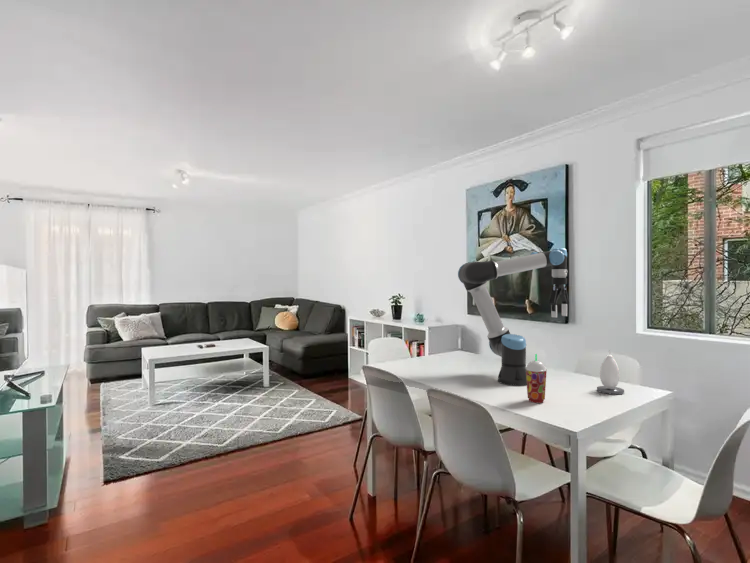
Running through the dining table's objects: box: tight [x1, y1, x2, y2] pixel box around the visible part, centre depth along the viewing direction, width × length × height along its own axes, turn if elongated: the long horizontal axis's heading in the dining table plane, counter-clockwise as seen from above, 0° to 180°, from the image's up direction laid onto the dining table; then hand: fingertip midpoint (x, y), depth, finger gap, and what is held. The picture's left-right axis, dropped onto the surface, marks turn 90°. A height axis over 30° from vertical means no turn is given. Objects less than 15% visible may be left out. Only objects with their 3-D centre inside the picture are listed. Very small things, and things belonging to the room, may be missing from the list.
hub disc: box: [596, 385, 625, 396], centre depth 197 cm, size 11×11×1 cm
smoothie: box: [526, 353, 547, 404], centre depth 180 cm, size 8×8×20 cm
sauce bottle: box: [599, 349, 621, 389], centre depth 197 cm, size 8×8×18 cm
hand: (559, 316), depth 230 cm, fingers open, 13 cm apart
